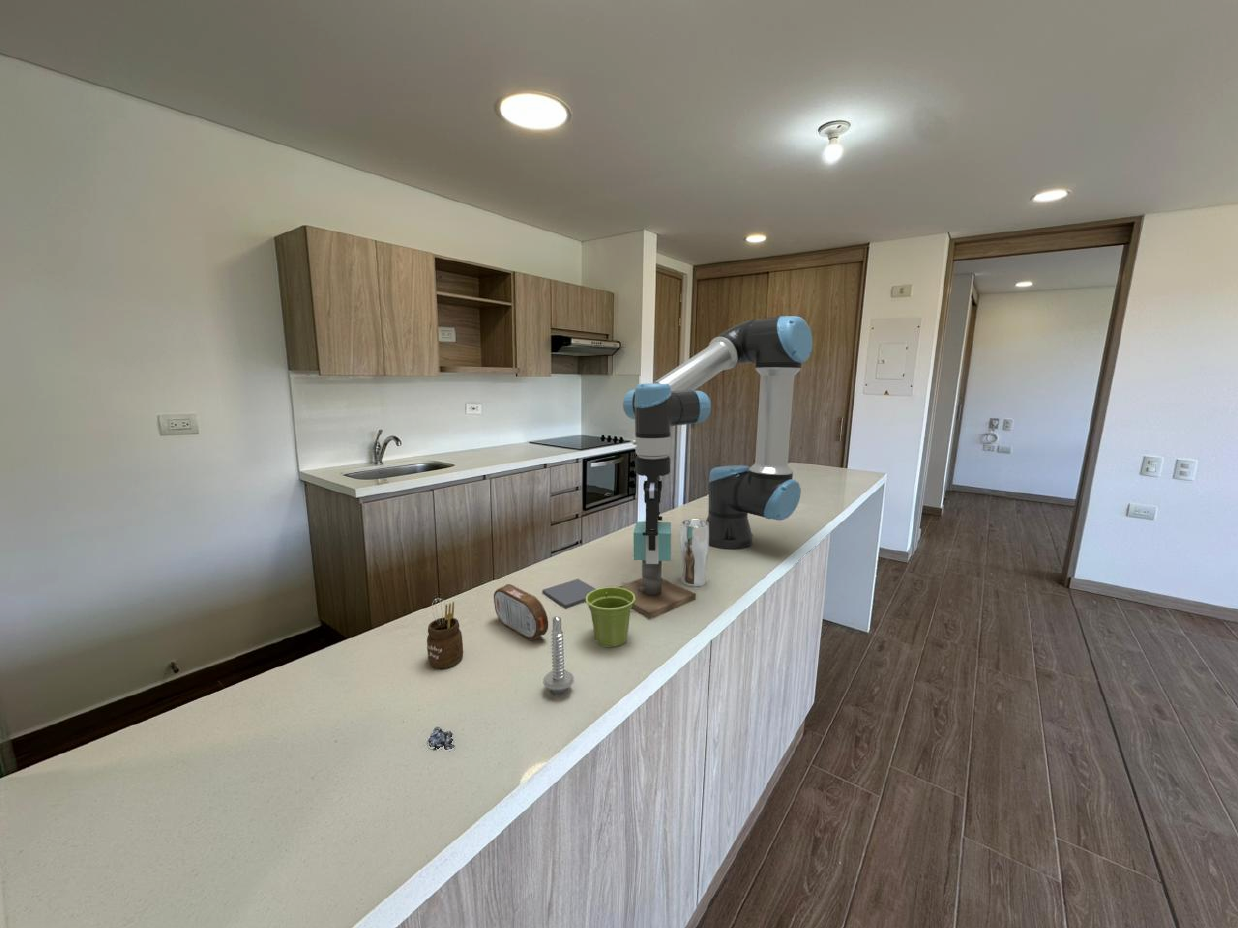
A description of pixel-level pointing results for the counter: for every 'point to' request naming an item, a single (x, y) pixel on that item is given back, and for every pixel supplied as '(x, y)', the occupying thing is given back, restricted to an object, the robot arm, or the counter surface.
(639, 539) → the striped light blue box
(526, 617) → the tin
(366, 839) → the counter surface
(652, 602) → the brown square stand
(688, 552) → the beer glass
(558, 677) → the screw
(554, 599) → the mat
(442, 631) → the utensil holder
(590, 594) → the plant pot
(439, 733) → the grey irregular lump
